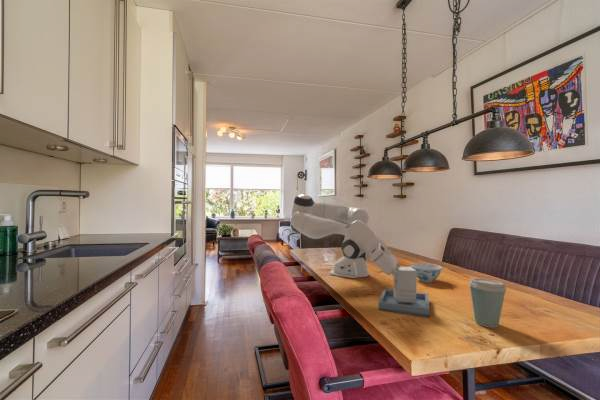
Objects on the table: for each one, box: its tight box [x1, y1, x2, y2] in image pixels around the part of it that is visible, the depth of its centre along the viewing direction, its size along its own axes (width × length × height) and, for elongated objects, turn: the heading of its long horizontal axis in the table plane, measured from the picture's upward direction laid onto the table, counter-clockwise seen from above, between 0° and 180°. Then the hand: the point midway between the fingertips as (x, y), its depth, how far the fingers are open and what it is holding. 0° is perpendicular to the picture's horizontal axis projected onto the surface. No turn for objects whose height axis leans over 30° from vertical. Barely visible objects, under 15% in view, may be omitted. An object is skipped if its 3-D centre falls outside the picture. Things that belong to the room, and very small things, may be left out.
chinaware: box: [410, 262, 443, 283], centre depth 148 cm, size 15×15×8 cm
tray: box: [378, 288, 431, 318], centre depth 113 cm, size 18×18×3 cm
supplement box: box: [392, 266, 418, 303], centre depth 113 cm, size 7×7×13 cm
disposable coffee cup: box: [468, 277, 507, 329], centre depth 95 cm, size 11×11×15 cm
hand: (402, 276), depth 113 cm, fingers closed on supplement box, 8 cm apart
